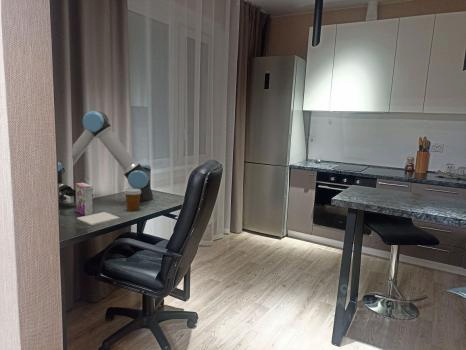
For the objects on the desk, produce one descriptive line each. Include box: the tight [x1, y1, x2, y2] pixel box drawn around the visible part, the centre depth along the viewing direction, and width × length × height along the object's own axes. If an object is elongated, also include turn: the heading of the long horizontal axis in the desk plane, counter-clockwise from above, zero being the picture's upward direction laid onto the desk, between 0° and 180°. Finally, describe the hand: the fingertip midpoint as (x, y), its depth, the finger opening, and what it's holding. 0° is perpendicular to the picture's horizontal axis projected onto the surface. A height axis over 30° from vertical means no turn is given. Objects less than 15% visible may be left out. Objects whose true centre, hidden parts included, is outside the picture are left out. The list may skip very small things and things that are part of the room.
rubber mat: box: [76, 211, 120, 226], centre depth 176 cm, size 16×14×1 cm
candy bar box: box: [75, 182, 94, 217], centre depth 183 cm, size 11×5×16 cm, turn 47°
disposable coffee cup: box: [124, 187, 141, 212], centre depth 196 cm, size 10×10×12 cm
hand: (82, 197), depth 183 cm, fingers open, 13 cm apart
